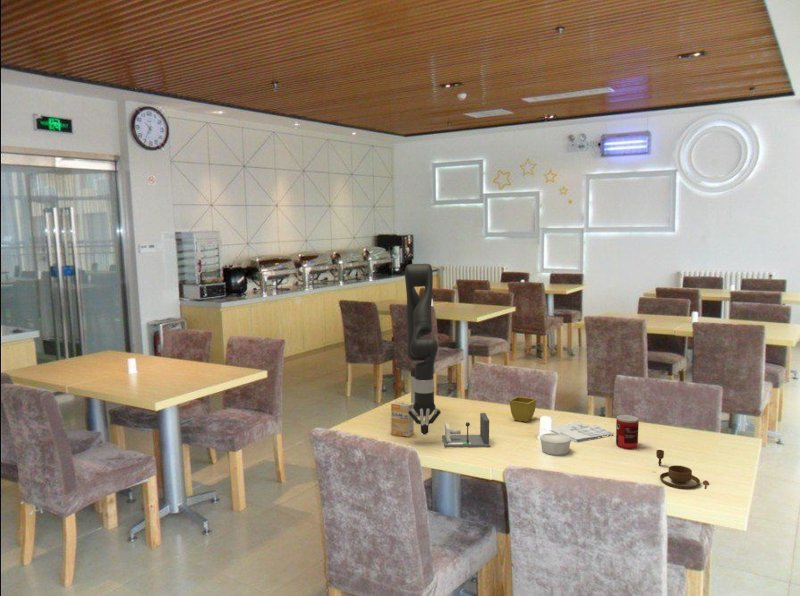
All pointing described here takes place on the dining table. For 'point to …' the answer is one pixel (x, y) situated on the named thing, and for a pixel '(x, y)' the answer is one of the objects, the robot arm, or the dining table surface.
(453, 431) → the pad
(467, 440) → the black ball-ended rod
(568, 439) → the ramekin
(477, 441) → the gauge frame
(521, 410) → the flower pot
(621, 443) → the canned food
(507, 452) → the dining table surface
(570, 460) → the dining table surface
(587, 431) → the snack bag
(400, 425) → the supplement box
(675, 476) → the place setting
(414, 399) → the robot arm
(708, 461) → the dining table surface
